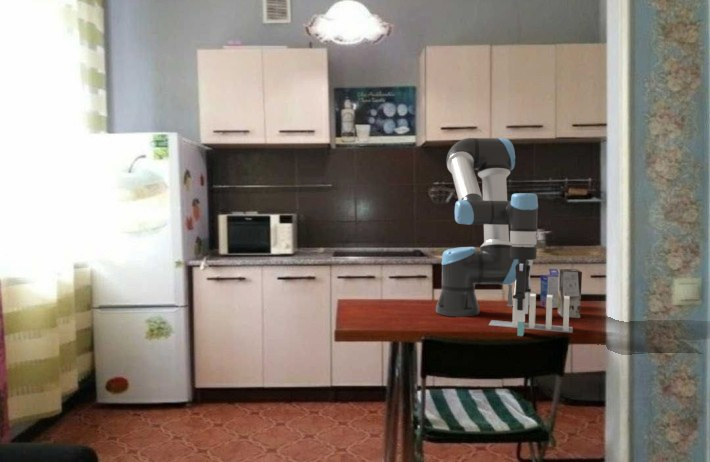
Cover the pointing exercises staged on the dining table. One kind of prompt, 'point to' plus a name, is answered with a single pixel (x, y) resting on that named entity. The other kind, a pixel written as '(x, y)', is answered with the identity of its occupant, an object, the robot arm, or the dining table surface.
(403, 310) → the dining table surface
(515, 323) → the domino
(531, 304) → the domino
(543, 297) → the ink cartridge box
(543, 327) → the gray flat rectangular plate
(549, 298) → the domino
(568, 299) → the domino
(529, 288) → the skyscraper
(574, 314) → the coffee box
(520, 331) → the teal domino
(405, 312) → the dining table surface
